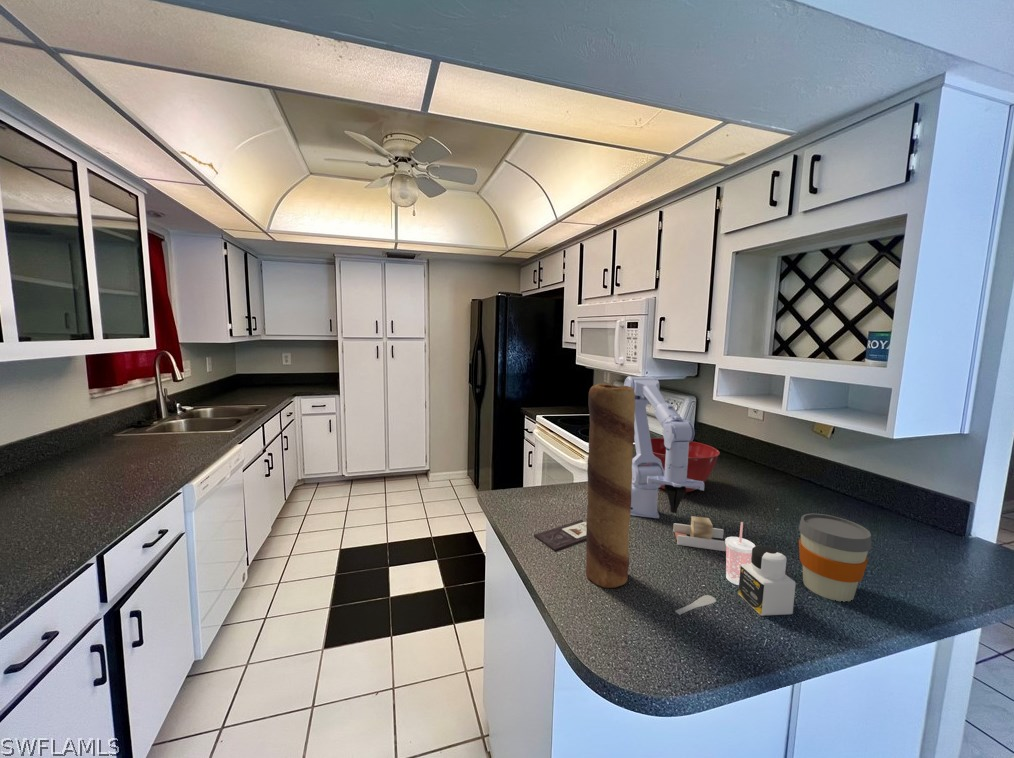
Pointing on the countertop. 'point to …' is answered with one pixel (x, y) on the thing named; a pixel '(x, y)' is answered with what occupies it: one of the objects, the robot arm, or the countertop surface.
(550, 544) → the chocolate bar
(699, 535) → the maple block
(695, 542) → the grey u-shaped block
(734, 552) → the beverage cup
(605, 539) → the wafer roll
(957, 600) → the countertop surface
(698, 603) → the grey flat paddle piece
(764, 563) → the medicine bottle
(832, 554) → the reusable coffee cup
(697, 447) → the mixing bowl
